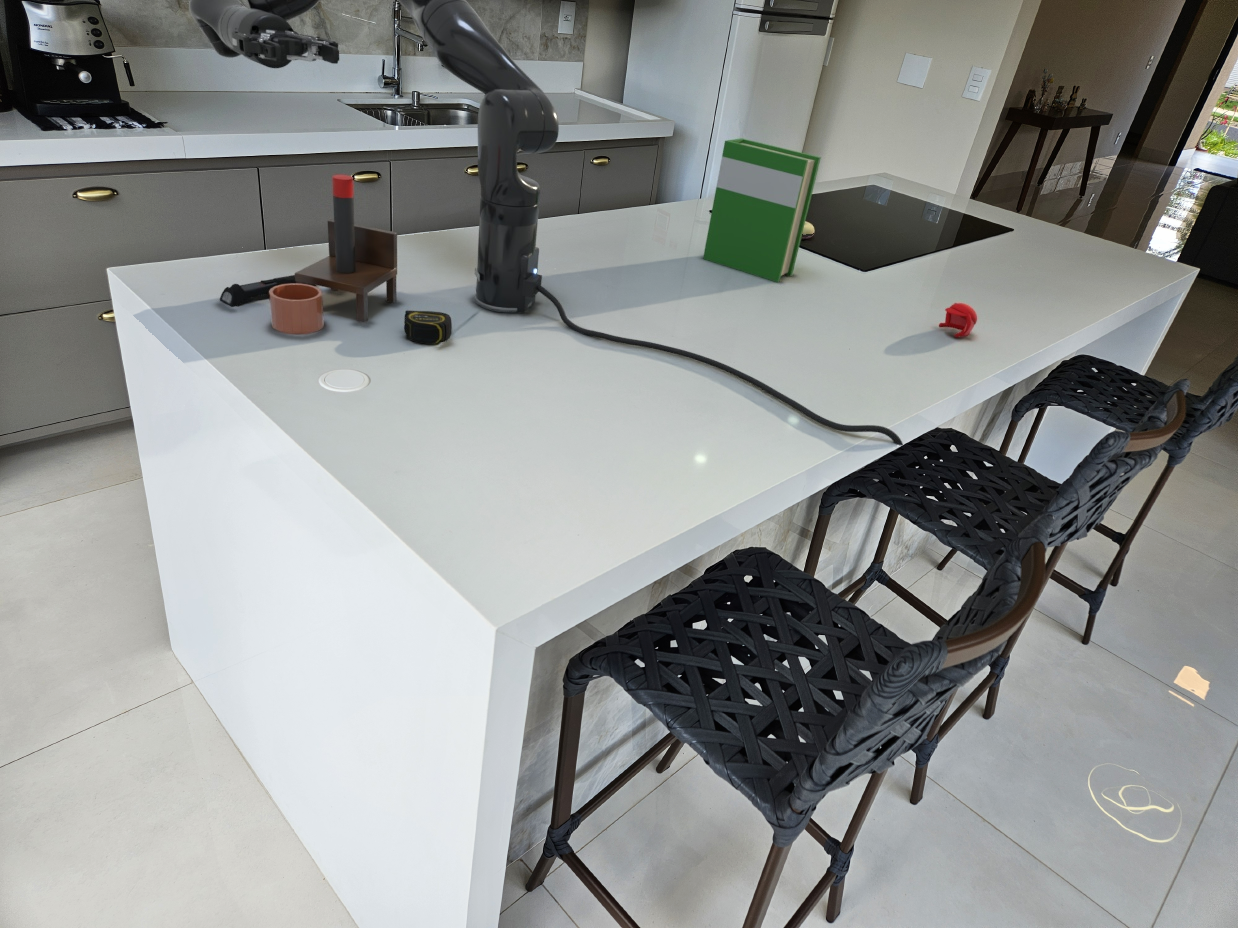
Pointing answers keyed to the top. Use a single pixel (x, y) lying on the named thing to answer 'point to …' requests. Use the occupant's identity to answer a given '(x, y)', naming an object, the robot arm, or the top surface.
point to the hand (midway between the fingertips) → (307, 54)
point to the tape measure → (427, 326)
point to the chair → (358, 266)
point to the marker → (344, 223)
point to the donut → (807, 230)
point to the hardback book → (760, 208)
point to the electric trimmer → (252, 290)
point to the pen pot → (296, 308)
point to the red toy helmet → (960, 319)
